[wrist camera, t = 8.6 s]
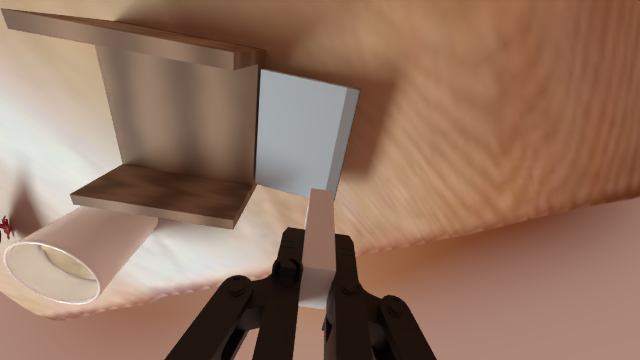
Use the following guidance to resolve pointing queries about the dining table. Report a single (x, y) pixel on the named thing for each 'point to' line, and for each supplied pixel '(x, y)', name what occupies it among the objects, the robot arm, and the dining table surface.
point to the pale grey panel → (302, 132)
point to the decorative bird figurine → (5, 227)
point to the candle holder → (77, 253)
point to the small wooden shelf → (169, 118)
